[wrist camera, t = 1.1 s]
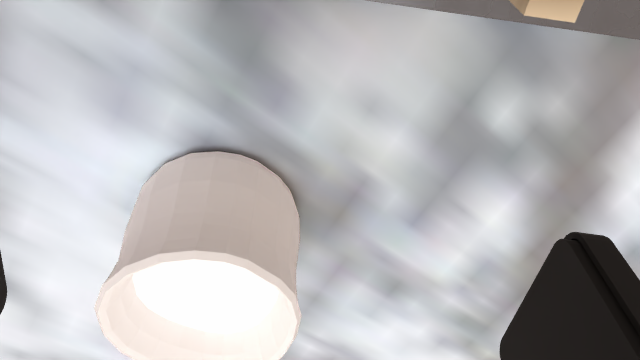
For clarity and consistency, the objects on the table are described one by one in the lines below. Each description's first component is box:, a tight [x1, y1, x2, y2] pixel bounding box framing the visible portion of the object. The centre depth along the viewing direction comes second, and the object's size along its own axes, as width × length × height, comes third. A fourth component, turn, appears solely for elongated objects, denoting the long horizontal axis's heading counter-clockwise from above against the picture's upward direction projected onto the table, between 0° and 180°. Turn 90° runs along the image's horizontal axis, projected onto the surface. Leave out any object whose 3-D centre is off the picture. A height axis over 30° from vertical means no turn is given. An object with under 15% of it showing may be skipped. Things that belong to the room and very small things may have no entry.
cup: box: [94, 151, 302, 360], centre depth 32 cm, size 10×10×10 cm
